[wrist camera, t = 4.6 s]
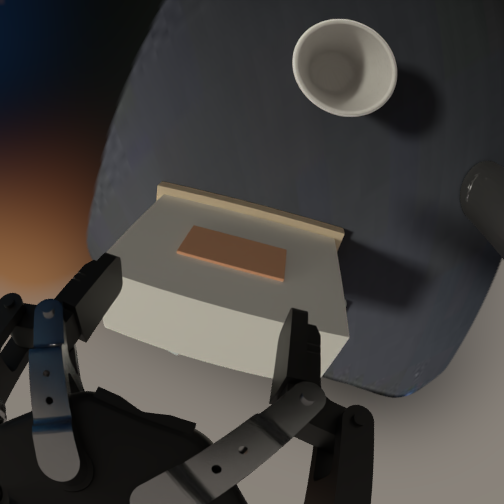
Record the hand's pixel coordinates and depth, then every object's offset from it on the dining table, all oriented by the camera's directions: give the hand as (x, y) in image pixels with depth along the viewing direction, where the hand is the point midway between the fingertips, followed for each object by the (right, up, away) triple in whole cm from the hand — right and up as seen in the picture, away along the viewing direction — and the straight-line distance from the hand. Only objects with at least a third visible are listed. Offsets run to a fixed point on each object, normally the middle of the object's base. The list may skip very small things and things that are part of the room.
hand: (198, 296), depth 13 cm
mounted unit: (+1, +4, +26) cm, 27 cm away
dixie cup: (+11, +21, +14) cm, 28 cm away
